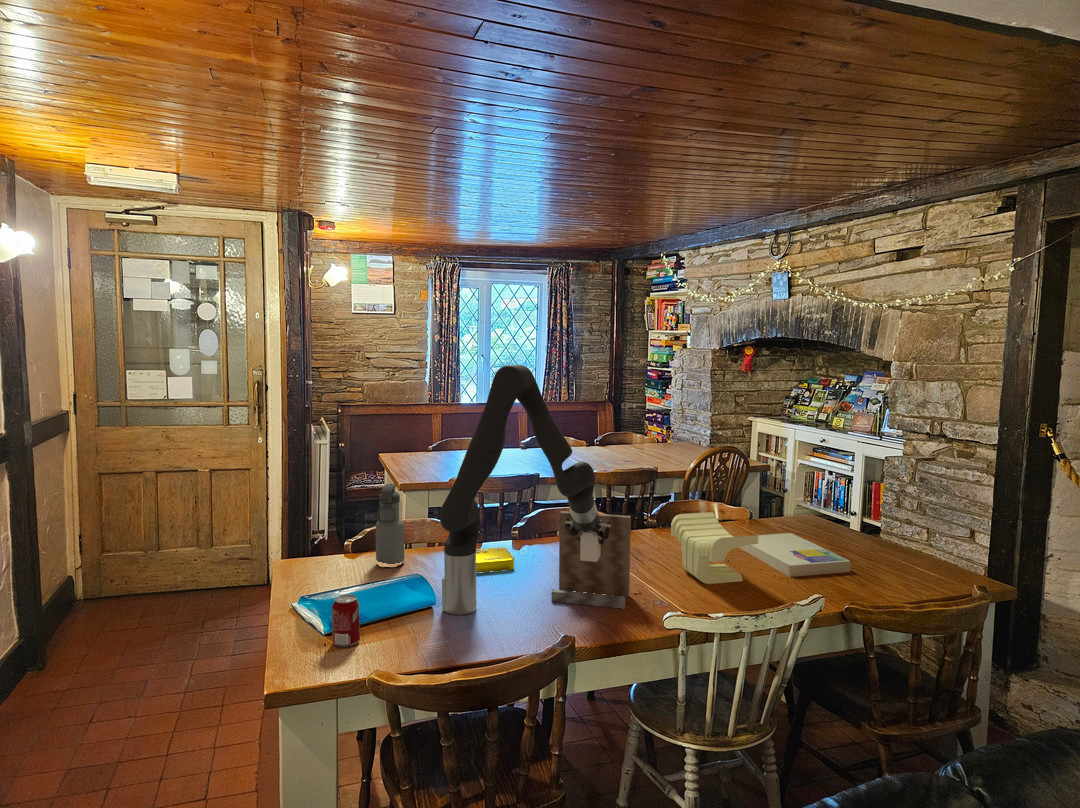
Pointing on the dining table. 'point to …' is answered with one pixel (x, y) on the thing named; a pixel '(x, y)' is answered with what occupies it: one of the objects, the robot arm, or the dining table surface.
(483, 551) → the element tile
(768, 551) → the puzzle box
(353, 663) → the dining table surface
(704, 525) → the slatted curved stool
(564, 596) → the wall board
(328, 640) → the dining table surface
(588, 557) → the beige rectangular block
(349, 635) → the soda can
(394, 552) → the water bottle
